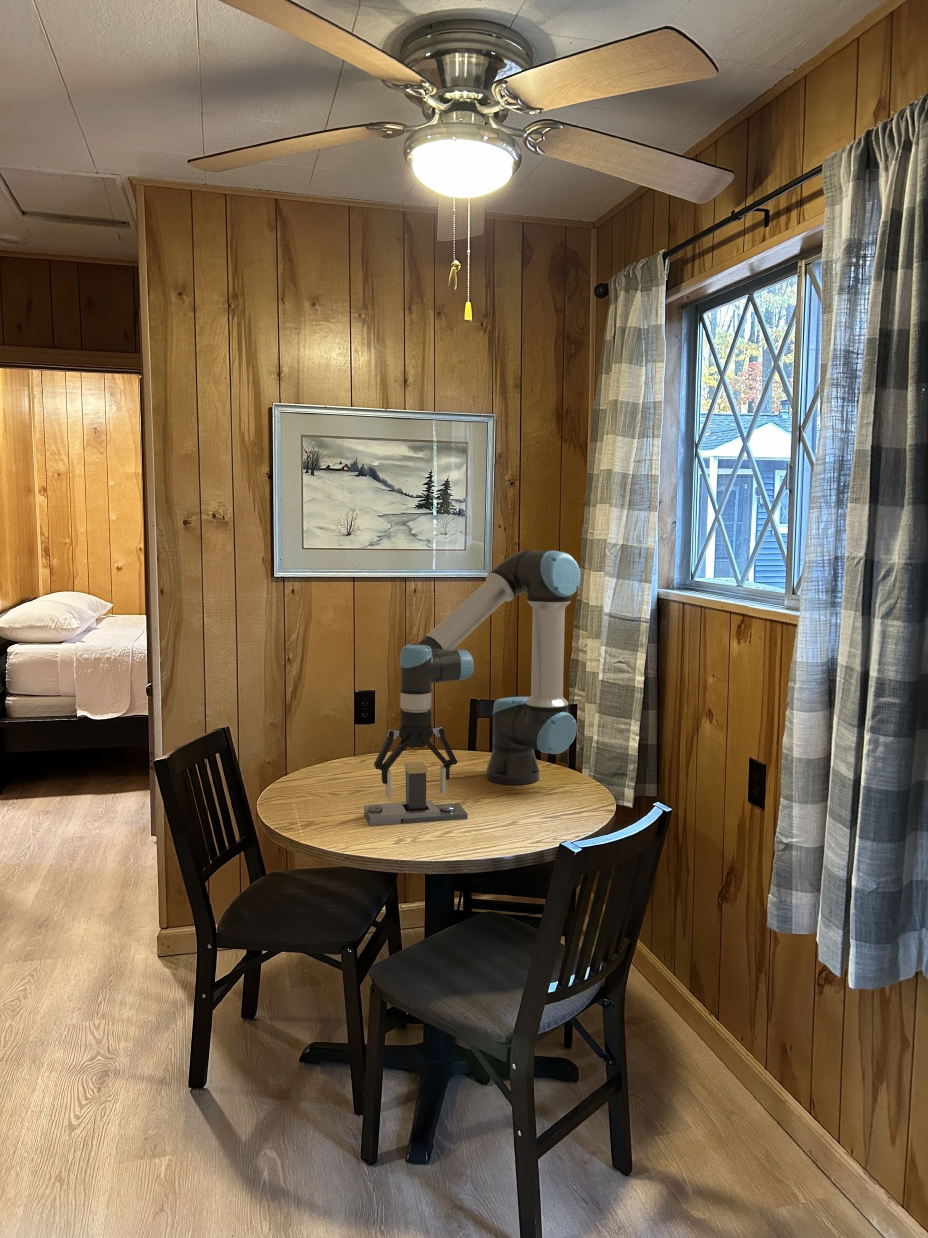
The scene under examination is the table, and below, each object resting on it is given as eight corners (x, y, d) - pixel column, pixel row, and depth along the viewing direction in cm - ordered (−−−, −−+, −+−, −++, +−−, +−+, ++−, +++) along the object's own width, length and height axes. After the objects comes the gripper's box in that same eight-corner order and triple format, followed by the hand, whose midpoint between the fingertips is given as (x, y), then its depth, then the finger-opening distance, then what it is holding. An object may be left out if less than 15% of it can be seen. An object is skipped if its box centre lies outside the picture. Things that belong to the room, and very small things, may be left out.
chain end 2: (458, 807, 230) (458, 800, 230) (467, 818, 222) (467, 811, 222) (396, 812, 226) (396, 805, 226) (403, 823, 218) (403, 816, 218)
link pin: (423, 813, 226) (423, 761, 225) (427, 818, 222) (427, 766, 220) (404, 814, 225) (404, 763, 223) (408, 820, 220) (408, 767, 219)
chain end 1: (431, 809, 229) (431, 798, 228) (439, 820, 220) (439, 808, 220) (364, 814, 224) (364, 802, 224) (369, 826, 216) (369, 814, 215)
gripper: (461, 704, 227) (461, 787, 229) (362, 708, 221) (362, 793, 223) (469, 709, 220) (469, 795, 222) (367, 714, 214) (367, 802, 216)
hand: (415, 794), depth 223 cm, fingers open, 13 cm apart
